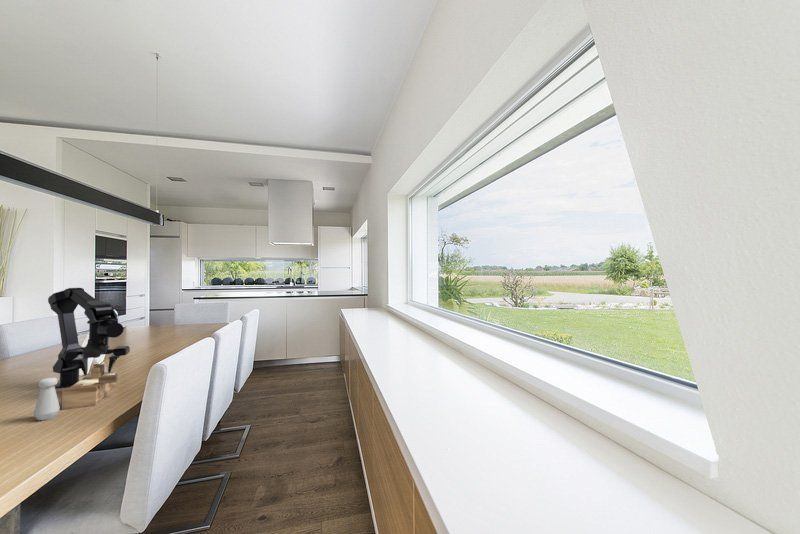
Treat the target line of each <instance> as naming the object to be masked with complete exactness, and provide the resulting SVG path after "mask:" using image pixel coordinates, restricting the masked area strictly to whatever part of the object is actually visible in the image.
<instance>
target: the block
mask: <svg viewBox="0 0 800 534" xmlns="http://www.w3.org/2000/svg"><path fill="white" fill-rule="evenodd" d="M118 379H119V374H118V373H117V374H116V375H106V376H100V377H99V380H98V384H106V383H116V382H118Z"/></svg>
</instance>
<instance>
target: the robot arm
mask: <svg viewBox="0 0 800 534" xmlns="http://www.w3.org/2000/svg"><path fill="white" fill-rule="evenodd" d="M47 303H48V305H49V306H50V309H51V311H52V312H54V313H55V314H56V315H57V321H58V326H59V332H60V333H59V334H60V339H61V346H62V348H61V350H60V352H59V353H58V355H57V356H58V357H57V360H56V362H55V363H54V364H53V366H52V370H53V373H55V374H59V384H56V385H55V389H57V388H69V387H71V386H72V385H74V384H76V383H77V382H78V381H80V380H81V379H80V369H81V371H82V373H83V375H84V376H87V375H88V369H89V367H88V365H89V363H88V362H89V361H88V360H89V358H90V359H91V358H93V359H96V358H99V357H101V355H110V356H109V357H108V360H109V362H108V367H107V368H108V369H107V372H108V373H110V372H112V370H113V368H114V366H115V363H116V361H117V360H118V359H119V358H120V357H121V356H126V355H128V354H129V353H130V352H131V349H130V348H131V347H130V346H129V345H120V346H119V345H118V346H116V347H114V348H110V346H109V339H110V338H112V339H113V338H118V337H120V336H121V335H122V334H123V332H124V330H125V328H124V326H123V325H122V324H121V323H120V322H119V319H118V315H117V312H116V311H115V309H114V307H113V306H112V304H111V303H108V302H106V301H100V300H99V299H98V300H97V299H96V298H95V297H93V296H92V295H91V294H89V293H88V292H87V291H85V289H84V288H83V287H68V288H66V289H63V290H60V291H58V292H57V291H56V292H55V293H52V294H51V295H49V297H48V298H47ZM78 305H79V306H80V307H81V308H82V309H84V312H83V313H84V315H85V316H86V318H87V319H89V320H88V321H86V323H87V325H88V324H89V327H88V330H89V331H88V339H87V344H86V345H85V346H82V345H80V343H79V337H78V331H77V325H76V318H75V311H76V309H77V307H78Z"/></svg>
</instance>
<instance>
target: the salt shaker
mask: <svg viewBox="0 0 800 534" xmlns="http://www.w3.org/2000/svg"><path fill="white" fill-rule="evenodd" d="M57 385H58V378H57V377H46V378H42V379H40V380H39V381H38V383H37V386H38V388H40V390H39V393H38V397H37V400H36V403H35V408H34V410H33V416H34V418H35V419H36V420H37V421H40V420H41V422H42V420H43V421H48V420H51V419H53V418H56V417H57V415H58V413H59V411H60V409H61V407H60V403H59V398H58V395H57V390H56V388H55V387H56V386H57Z"/></svg>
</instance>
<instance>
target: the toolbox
mask: <svg viewBox="0 0 800 534" xmlns="http://www.w3.org/2000/svg"><path fill="white" fill-rule="evenodd" d="M116 374H118V372H116ZM116 374H115V375H116ZM117 382H118V381H117ZM117 382H116V383H106V384H98V383H95V384H94V385H88V386H81V385H72V386H69V387H66V388H64V389H63V390H62V395H61V411H63V410H69V409H78V408H87V407H93V406H97V405H98V404H99V403H100V402H101V401H102V400H103V399H104V398H105V397H106V396H107V395H108V394H109V393H110V392H111V391H112V390H113V389H114V388H115V387H116V386H118V385H117ZM112 388H113V389H112ZM111 389H112V390H111ZM110 390H111V391H110ZM109 391H110V392H109ZM108 392H109V393H108ZM107 393H108V394H107ZM106 394H107V395H106ZM105 395H106V396H105ZM104 396H105V397H104ZM103 397H104V398H103ZM102 398H103V399H102ZM101 399H102V400H101ZM100 400H101V401H100Z"/></svg>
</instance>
